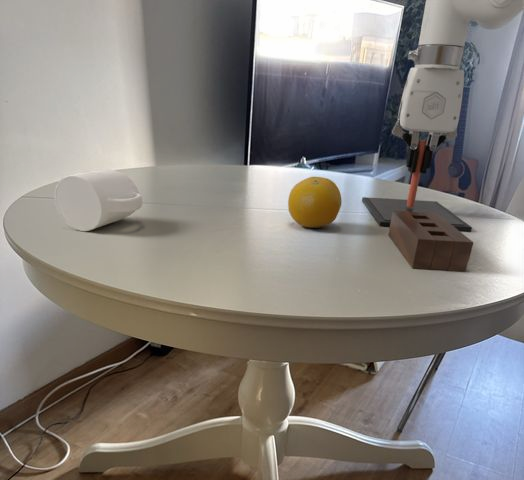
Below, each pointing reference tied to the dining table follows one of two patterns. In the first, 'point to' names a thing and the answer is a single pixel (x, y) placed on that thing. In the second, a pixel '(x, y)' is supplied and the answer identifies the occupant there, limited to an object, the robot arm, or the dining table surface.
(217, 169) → the dining table surface
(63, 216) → the mug
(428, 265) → the pen stand
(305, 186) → the fruit
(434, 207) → the tablet
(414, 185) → the stylus
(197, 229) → the dining table surface
